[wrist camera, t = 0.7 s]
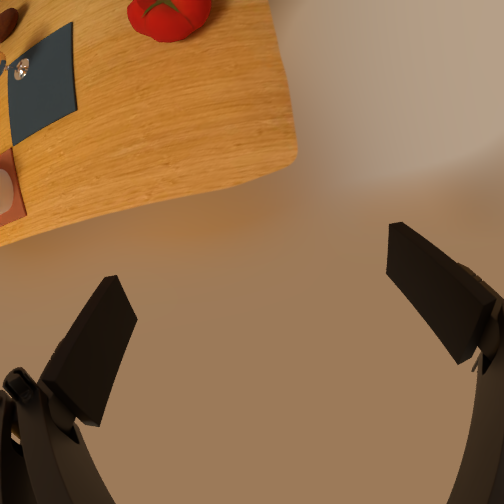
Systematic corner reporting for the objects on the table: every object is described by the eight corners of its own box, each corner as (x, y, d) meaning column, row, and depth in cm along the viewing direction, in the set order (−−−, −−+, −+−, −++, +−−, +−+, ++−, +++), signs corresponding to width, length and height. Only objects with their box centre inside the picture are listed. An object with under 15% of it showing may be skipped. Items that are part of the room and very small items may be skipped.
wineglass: (33, 68, 25) (-12, 64, 15) (15, 89, 26) (-29, 91, 15) (28, 49, 23) (-14, 42, 12) (10, 69, 24) (-32, 68, 13)
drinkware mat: (9, 66, 24) (8, 66, 23) (72, 22, 23) (71, 21, 23) (14, 145, 32) (12, 146, 31) (77, 110, 31) (75, 110, 30)
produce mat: (-16, 168, 32) (-18, 168, 32) (11, 147, 32) (10, 148, 31) (-2, 227, 38) (-3, 228, 38) (27, 215, 38) (25, 216, 37)
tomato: (200, -21, 23) (190, -50, 15) (223, 33, 28) (218, 9, 20) (134, 6, 24) (110, -16, 16) (152, 61, 29) (128, 46, 21)
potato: (-2, 30, 18) (-20, 28, 12) (25, 5, 17) (7, -1, 12) (-4, 52, 21) (-23, 51, 15) (24, 26, 20) (4, 21, 14)
